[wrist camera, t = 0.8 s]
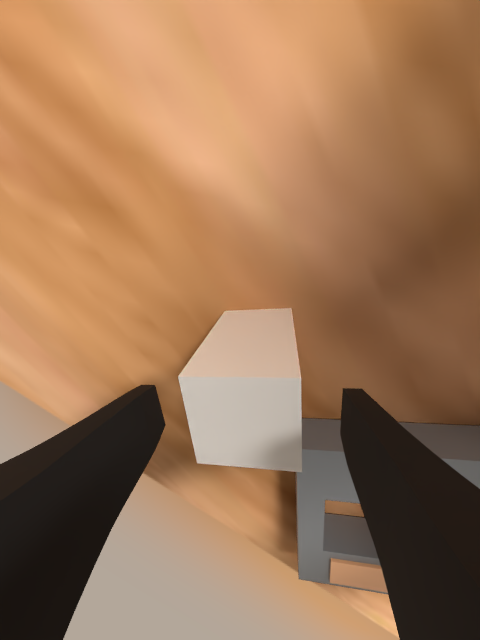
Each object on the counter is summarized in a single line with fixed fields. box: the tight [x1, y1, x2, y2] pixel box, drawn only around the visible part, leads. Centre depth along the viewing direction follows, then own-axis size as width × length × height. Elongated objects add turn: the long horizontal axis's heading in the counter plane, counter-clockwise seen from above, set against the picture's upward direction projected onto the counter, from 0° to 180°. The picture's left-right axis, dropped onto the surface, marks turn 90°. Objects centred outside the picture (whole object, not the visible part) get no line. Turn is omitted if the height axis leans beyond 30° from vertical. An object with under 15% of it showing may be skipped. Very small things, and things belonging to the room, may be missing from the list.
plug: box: [178, 308, 302, 472], centre depth 11 cm, size 4×4×7 cm
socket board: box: [295, 418, 480, 594], centre depth 16 cm, size 18×14×3 cm
